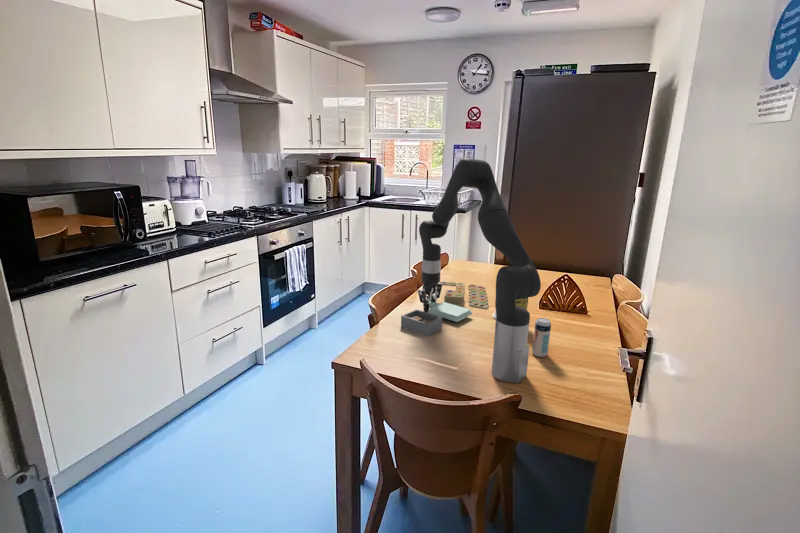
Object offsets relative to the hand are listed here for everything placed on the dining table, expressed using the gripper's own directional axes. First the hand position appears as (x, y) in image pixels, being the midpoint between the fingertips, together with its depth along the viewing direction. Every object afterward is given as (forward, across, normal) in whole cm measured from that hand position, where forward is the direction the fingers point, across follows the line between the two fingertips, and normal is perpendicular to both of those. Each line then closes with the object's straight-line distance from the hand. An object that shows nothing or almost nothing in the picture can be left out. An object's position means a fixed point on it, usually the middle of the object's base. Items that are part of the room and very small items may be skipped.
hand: (429, 310), depth 170 cm
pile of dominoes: (+2, +27, +4) cm, 27 cm away
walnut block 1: (0, -16, -6) cm, 17 cm away
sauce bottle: (+1, +11, -33) cm, 35 cm away
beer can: (+1, -6, -49) cm, 49 cm away
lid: (-1, 0, -7) cm, 8 cm away
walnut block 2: (0, -16, -10) cm, 19 cm away
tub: (+1, -16, -8) cm, 18 cm away
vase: (+1, +15, -25) cm, 29 cm away
